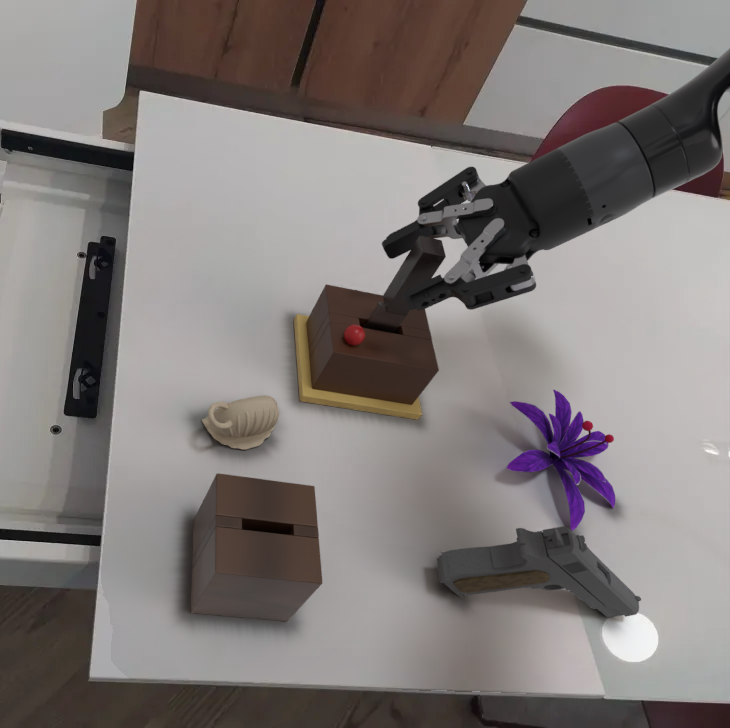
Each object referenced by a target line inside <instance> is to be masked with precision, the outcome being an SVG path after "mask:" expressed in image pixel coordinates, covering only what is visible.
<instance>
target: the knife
mask: <svg viewBox="0 0 730 728" xmlns="http://www.w3.org/2000/svg"><path fill="white" fill-rule="evenodd" d="M446 257H447V256H446V251H445V248H444V244H443V240H441V239H439V238H429V237H425V236H419V238H418V239H417V241H416V242H415V244H414V246H413V247H412V249H411V250H410V251H408V254H407V255H406V257H405V259H404V260H403V262H402V264H401V266H400V267H399V268H398V270H397V272H396V274H395V275H394V277H393V279H392V280H391V282H390V284H389V285H388V286H387V288H386V290H385V291H384V294H383V299H384V303H382V302H379V303H378V305H377V306H376V308H375V309H374V311H373V313H372V314H371V316H370V318H369V319H368V321H367V323H366V324H365V326H364V327H363V328H367V329H373V330H378V331H383V332H389V333H395V331H396V330H397V328H398V327H399V325H400V324H401V322H402V321H403V319H404V318H405V316H407V314H408V313H409V311H410V309H409V308H408V306H407V304H406V303H405V301H404V298H403V296H402V294H403V292H405V291H406V290H408V289H411V288H413V287H415V286H417V285H419V284H421V283H423V282H425V281H427V280H429V279H431V278H434V276H435V274H436V272H437V271H438V270H439V268H440V266H441V265H442V264H443V262H444V261H445V259H446Z"/></svg>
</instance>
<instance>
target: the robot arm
mask: <svg viewBox="0 0 730 728" xmlns="http://www.w3.org/2000/svg"><path fill="white" fill-rule="evenodd" d="M727 92H728V93H729V94H730V47H729V48H728V49H727V50H726V51H725V52H723V53H722V54H721V55H720V56H719V57H718V58H717V59H714V61H713V62H712V63H711V64H710V65H708V66H707V67H706V68H705V69H703V70H702V71H701V72H699V73H698V74H697V75H695V76H694V77H693V78H691V80H689V81H688V82H686V83H685V84H683V85H682V86H680V87H679V88H677V89H676V90H674V91H672V92H671V93H669V94H668V95H666V96H664V97H662V98H660V99H658V100H657V101H655V102H652V103H651V104H649V105H648V106H646V107H644V108H642V109H640V110H638V111H636V112H634V113H632V114H629V115H627V116H625V117H624V118H622V119H619V120H618V121H615V122H614V123H611V124H608V125H606V126H603V127H601V128H598V129H595V130H593V131H590V132H587V133H585V134H582V135H581V136H579V137H576V138H575V139H573V140H571V141H569V142H567V143H565V144H563V145H561V146H559V147H557V148H555V149H553V150H551V151H550V152H548V153H545V154H543V155H541V156H539V157H537V158H535V159H534V160H531V161H529V162H527V163H525V164H524V165H522V166H520V167H517V168H516V169H514V170H512V171H511V172H510V173H509V174H508V175H507V177H506V178H505V180H503V181H501V182H499V183H495V184H488V185H486V184H485V183H484V181H483V180H482V179H481V178H480V176H479V173H478V171H477V168H476V167H475V166H467V167H466V168H465V169H463V170H461V171H459V172H458V173H457V174H455V175H454V176H453V177H451V178H449V179H447V180H446V181H445V182H443V183H442V184H440V185H439V186H437V187H435V188H434V189H433V190H431V191H429V192H428V193H426V194H425V195H424V196H422V197H420V198H419V200H418V201H417V206H418V216H417V219H415V221H413V222H411V223H409V224H407V225H405V226H403V227H401V228H400V229H397V230H395V231H393V232H391V233H390V234H388V235H387V236H386V237H385V239H383V240H382V241H381V246H382V248H383V251H384V252H385V254H386V256H387V258H388V259H391V260H393V259H396V258H398V257H400V256H402V255H404V254H406V253H409V252H410V251H411V249H412V247H413V246H414V244H415V242H416V241H417V239H418V238H419V236H425V237H429V238H434V239H441V238H442V239H443V238H449V239H451V240H460V239H463V241H464V243H465V245H466V246H467V248H466V249H465V250H463V252H462V253H461V254H460V257H459V260H458V261H457V262H456V263H455V264H454V265H453V266H452V267H451V268H450V269H448V271H447V272H446V273H445V274H444V277H443V276H442V274H438V275H435V276H433V277H432V278H431V279H429V280H427V281H425V282H423V283H421V284H419V285H417V286H415V287H413V288H411V289H408V290H406V291H405V292H403V294H402V296H403V298H404V301H405V303H406V304H407V306H408V308H409V309H410V310H415V309H417V310H424V309H425V310H427V309H428V308H430V307H433V306H435V305H437V304H439V303H441V302H443V301H446V300H447V299H450V298H455V299H458V300H459V301H460V302H461V303H462V304H463V305H464V306H465V308H466V309H467V310H473V311H474V310H476V309H479V308H483V307H485V306H489V305H492V304H496V303H498V302H502V301H505V300H508V299H511V298H514V297H519V296H521V295H524V294H528V293H530V292H533V291H535V289H536V288H537V282H536V278H535V275H534V272H533V270H532V267H531V265H530V264H529V262H528V261H529V260H530V259H531V258H532V257H533V256H534V255H535V254H536V253H538V252H539V251H550V250H553V249H554V248H556V247H559V246H561V245H563V244H565V243H567V242H570V241H571V240H574V239H576V238H577V237H581V236H583V235H585V234H586V233H589V232H591V231H593V230H595V229H597V228H599V227H601V226H604V225H606V224H608V223H611V222H613V221H614V220H617V219H619V218H621V217H623V216H625V215H626V214H629V213H630V212H632V211H633V210H635V209H636V208H638V207H639V206H641V205H643V204H645V203H647V202H649V201H650V200H652V199H655V198H657V197H659V196H661V195H664V194H665V193H667V192H669V191H671V190H674V189H676V188H678V187H681V186H682V185H685V184H688V183H689V182H691V181H693V180H695V179H697V178H699V177H701V176H704V175H705V174H707V173H709V172H710V171H712V170H713V169H715V168H716V167H717V166H718V165H719V164H720V162H721V159H722V157H723V151H724V147H723V136H722V131H721V127H720V121H719V104H720V103H721V100H722V98H723V96H724V94H725V93H727ZM466 201H468V202H466ZM464 202H466V203H464ZM498 265H506V266H505V268H504V269H503V270H500V271H497V272H495V273H491V272H492V271H493V270H494V269H495V268H496V267H498ZM489 274H490V275H489Z"/></svg>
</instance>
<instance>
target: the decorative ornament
mask: <svg viewBox="0 0 730 728" xmlns="http://www.w3.org/2000/svg"><path fill="white" fill-rule="evenodd" d="M207 409H208V410H207V416H206V417H205V418H203V419H201V422H202V424H203V425H204V427H205V429H206V431H207V432H208V433H209V434H210V436H211V437H212V438H213V440H215V441H217V442H218V443H220V444H221V445H222V446H228V447H229V448H231V449H239V450H242V451H247V450H249V449H252V448H256V447H259V446H261V445H263V443H264V441H265V440H266V439H267V438H270V437H271V434H272V432H273V431H274V430H275V428H276V425H277V423H278V421H279V417H280V410H279V406H278V402H277V401H276V399H275V398H274V397H273V396H270V395H259V396H251V397H245V398H240V399H237V400H233V401H230V402H224V401H216V402H213V403H212V404H210V406H209V407H208V408H207Z"/></svg>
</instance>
